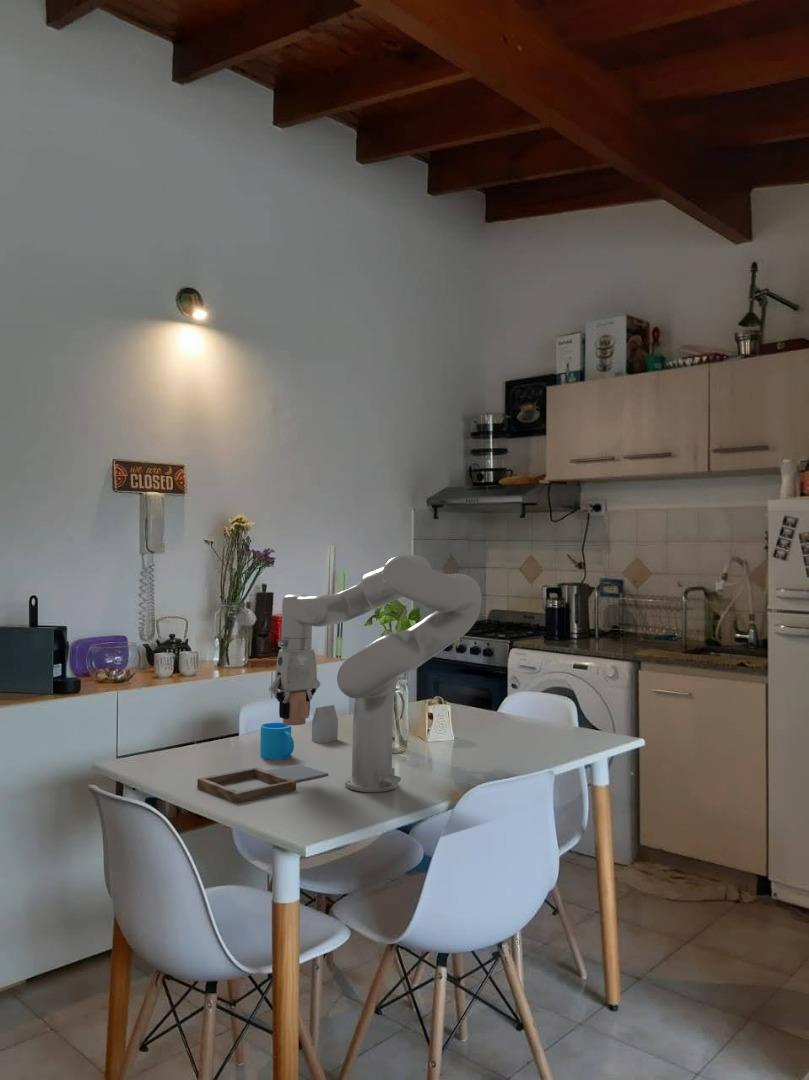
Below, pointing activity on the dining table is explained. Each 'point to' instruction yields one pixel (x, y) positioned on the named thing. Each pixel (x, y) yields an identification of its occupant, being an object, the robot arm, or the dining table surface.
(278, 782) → the wooden square frame
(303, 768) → the mat
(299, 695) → the jug
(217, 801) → the dining table surface
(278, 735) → the mug
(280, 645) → the robot arm
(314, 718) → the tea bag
